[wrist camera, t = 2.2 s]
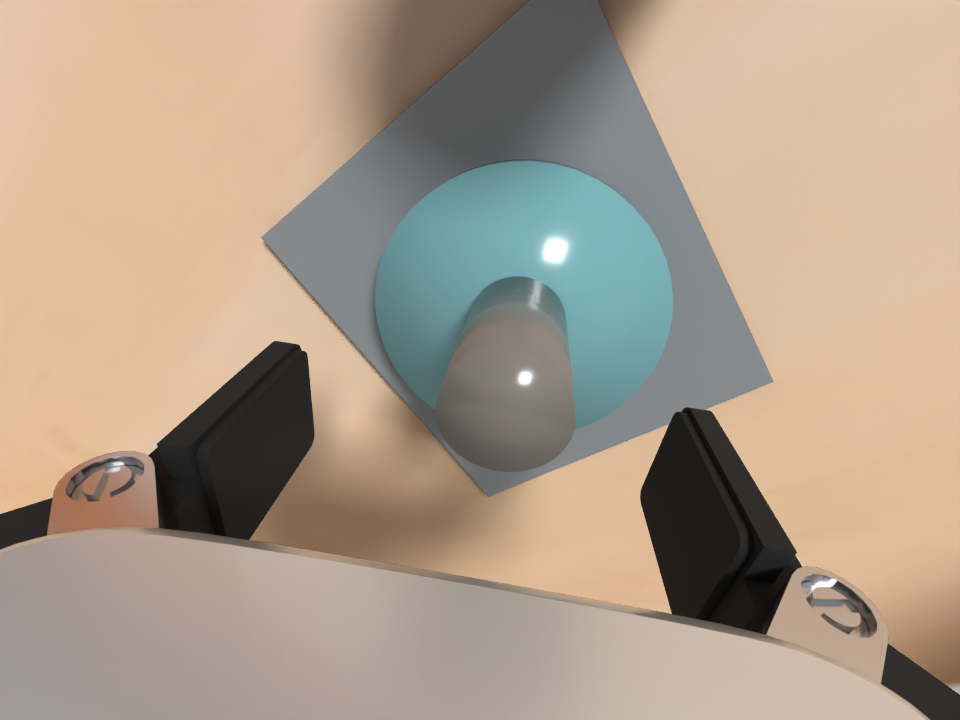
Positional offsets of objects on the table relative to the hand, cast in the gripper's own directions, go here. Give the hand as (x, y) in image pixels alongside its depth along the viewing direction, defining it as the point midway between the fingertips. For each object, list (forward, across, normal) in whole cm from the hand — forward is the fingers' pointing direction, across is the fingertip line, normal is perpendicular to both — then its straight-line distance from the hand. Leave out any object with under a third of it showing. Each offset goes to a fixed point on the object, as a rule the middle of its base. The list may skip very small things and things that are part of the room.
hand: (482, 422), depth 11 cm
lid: (+7, -1, 0) cm, 7 cm away
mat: (+8, -1, 0) cm, 8 cm away
